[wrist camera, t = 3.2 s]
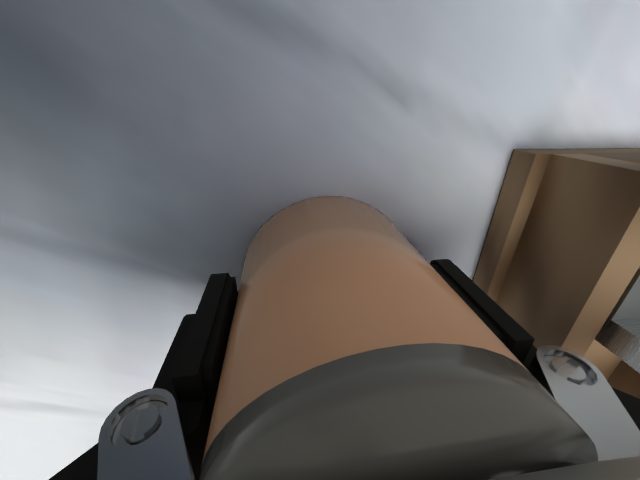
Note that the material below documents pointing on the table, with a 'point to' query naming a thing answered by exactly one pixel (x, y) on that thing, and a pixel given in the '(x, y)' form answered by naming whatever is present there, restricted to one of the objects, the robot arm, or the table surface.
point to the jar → (370, 366)
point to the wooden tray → (566, 248)
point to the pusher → (624, 326)
